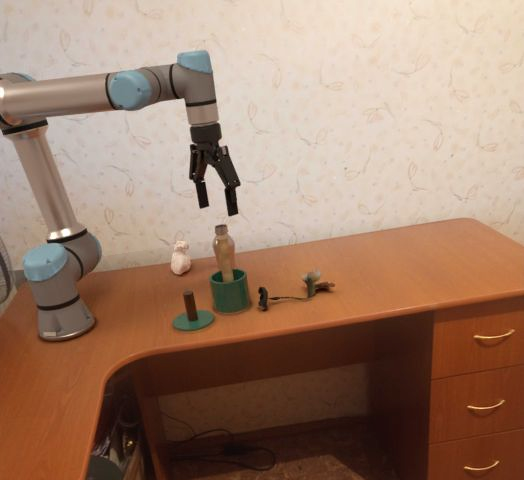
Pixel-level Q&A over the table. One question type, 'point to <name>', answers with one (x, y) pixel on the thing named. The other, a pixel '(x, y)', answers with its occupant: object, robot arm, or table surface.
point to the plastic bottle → (222, 231)
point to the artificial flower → (310, 282)
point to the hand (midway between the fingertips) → (218, 211)
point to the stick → (225, 258)
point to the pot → (230, 292)
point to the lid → (192, 315)
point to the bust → (180, 258)
